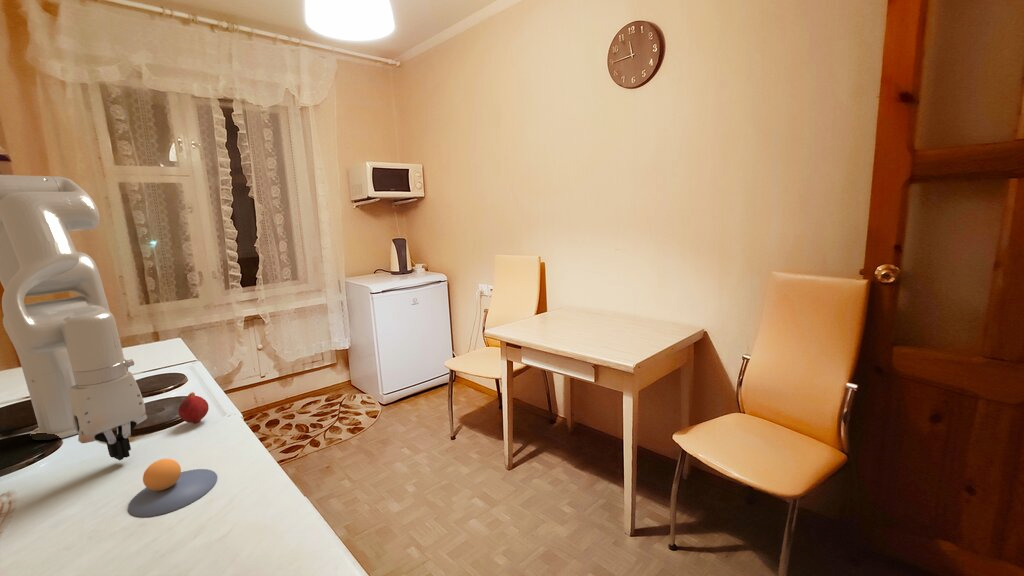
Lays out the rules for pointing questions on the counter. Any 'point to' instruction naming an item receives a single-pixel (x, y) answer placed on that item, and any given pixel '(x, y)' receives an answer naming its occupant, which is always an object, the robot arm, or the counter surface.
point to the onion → (193, 409)
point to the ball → (162, 474)
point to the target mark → (173, 494)
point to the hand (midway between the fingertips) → (121, 456)
